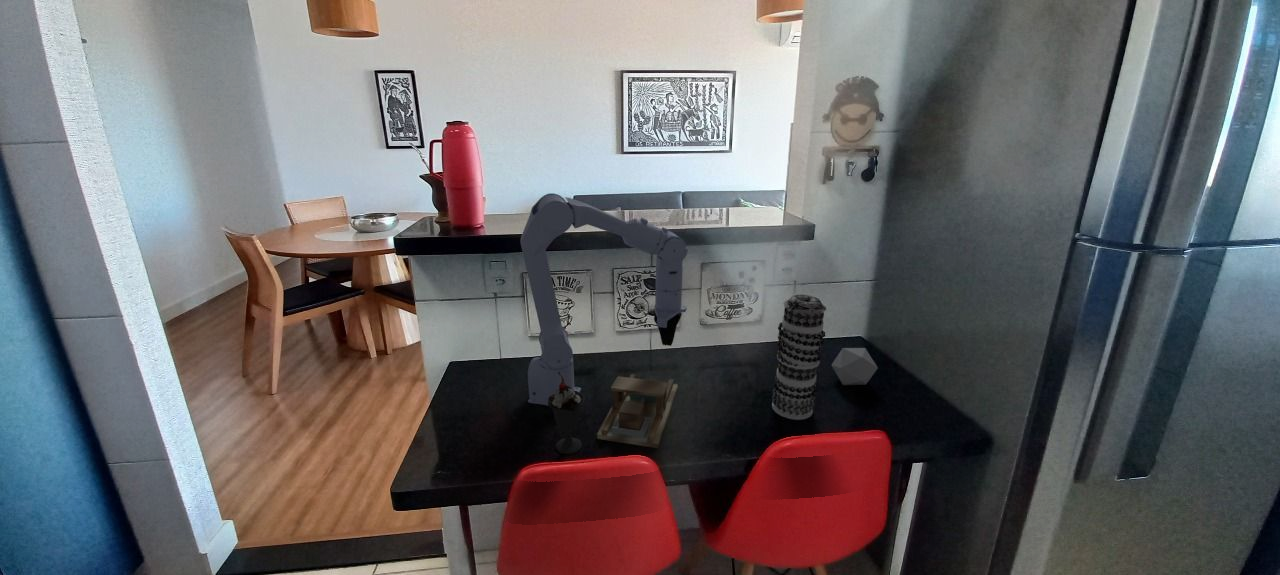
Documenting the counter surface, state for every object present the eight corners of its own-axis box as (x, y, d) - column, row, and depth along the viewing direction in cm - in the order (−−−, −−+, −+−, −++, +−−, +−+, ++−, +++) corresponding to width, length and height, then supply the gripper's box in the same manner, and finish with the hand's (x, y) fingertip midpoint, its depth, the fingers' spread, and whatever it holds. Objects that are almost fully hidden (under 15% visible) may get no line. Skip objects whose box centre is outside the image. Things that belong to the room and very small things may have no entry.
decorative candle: (766, 415, 105) (778, 303, 96) (772, 393, 113) (784, 288, 104) (812, 425, 101) (829, 310, 93) (815, 401, 110) (830, 294, 101)
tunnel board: (597, 438, 97) (596, 407, 95) (627, 381, 117) (626, 355, 115) (657, 448, 94) (658, 416, 92) (677, 388, 114) (678, 361, 112)
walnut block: (619, 429, 97) (618, 411, 96) (624, 417, 101) (624, 400, 99) (639, 432, 96) (639, 414, 95) (643, 420, 100) (644, 403, 98)
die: (864, 375, 122) (842, 339, 122) (891, 374, 113) (868, 336, 113) (840, 394, 119) (818, 358, 119) (867, 395, 111) (843, 357, 111)
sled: (612, 433, 97) (611, 412, 95) (630, 396, 109) (630, 377, 108) (644, 438, 96) (644, 417, 94) (659, 400, 108) (659, 381, 106)
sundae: (559, 432, 99) (555, 365, 94) (591, 438, 97) (589, 370, 92) (544, 453, 93) (539, 382, 88) (578, 460, 91) (574, 388, 86)
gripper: (681, 300, 102) (679, 360, 106) (691, 278, 115) (689, 332, 119) (647, 297, 103) (646, 357, 108) (661, 276, 116) (660, 329, 121)
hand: (667, 344), depth 114 cm, fingers closed
